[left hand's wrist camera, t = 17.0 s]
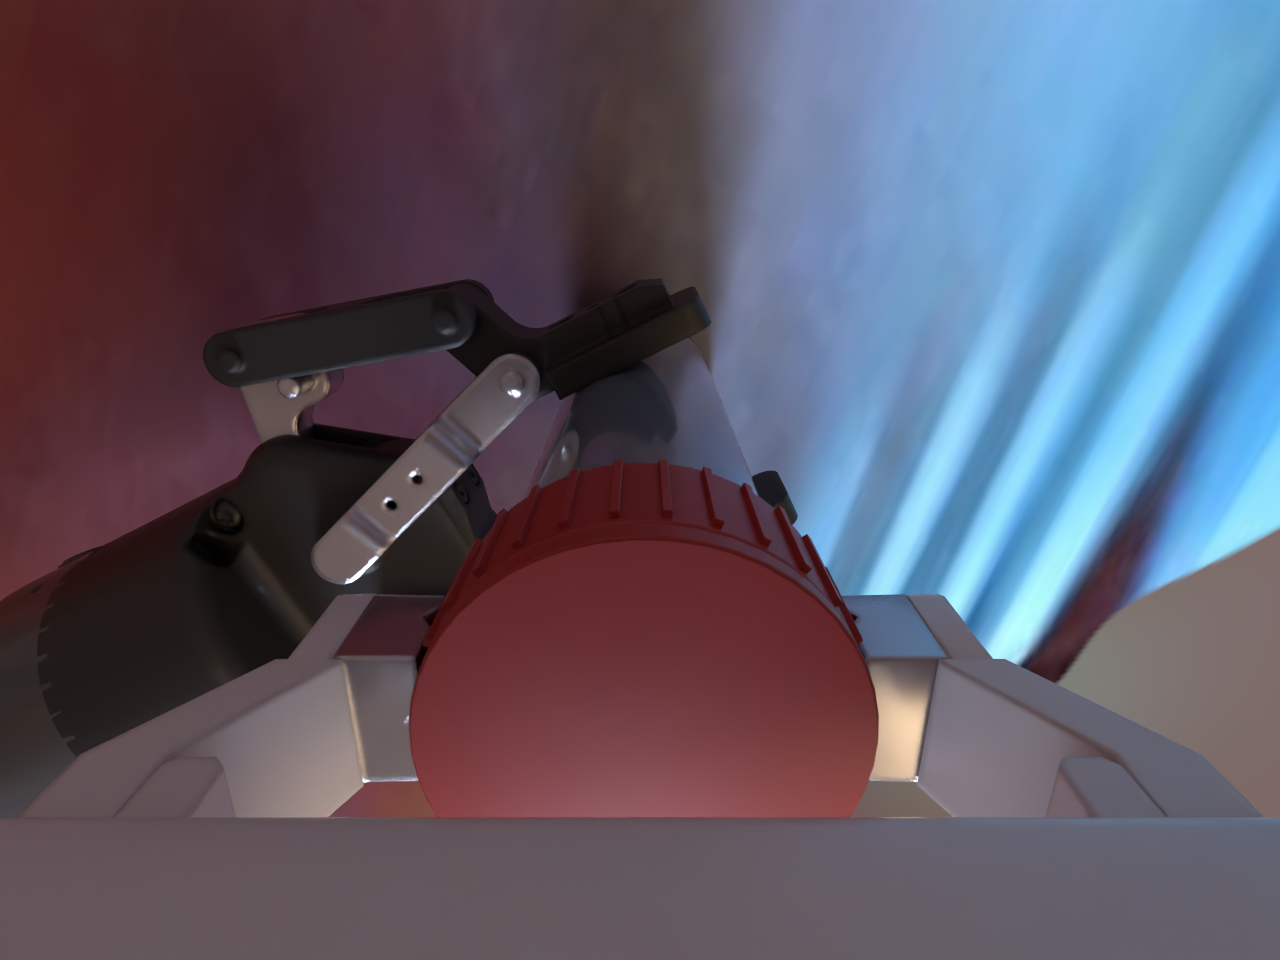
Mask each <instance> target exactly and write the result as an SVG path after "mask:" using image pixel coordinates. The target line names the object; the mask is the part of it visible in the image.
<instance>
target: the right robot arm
mask: <svg viewBox="0 0 1280 960" xmlns="http://www.w3.org/2000/svg"><path fill="white" fill-rule="evenodd" d="M710 324H711V320H710V318H709V316H708V314H707V312H706V309H705V307H704V305H703V303H702V301H701V298H700V296H699V294H698V292H697V291H696V289H695V287H690V288H687V289H684V290H682V291H679V292H677V293H675V294H673V295H671V296H670V295H669V293H668V291H667V289H666V287H665V285H664V283H663V280H662V278H660V279H647V280H638V281H636V282H634V283H632V284H630V285H628V286H626V287H624V288H622V289H620V290H618V291H617V292H614V293H612V294H610V295H608V296H606V297H604V298H602V299H601V300H598V301H596V302H595V303H593V304H591V305H589V306H587V307H585V308H583V309H581V310H579V311H577V312H575V313H573V314H571V315H569V316H567V317H565V318H563V319H561V320H559V321H557V322H555V323H553V324H551V325H549V326H547V327H543V328H529V327H525V326H523V325H520V324H519V323H517V322H515V321H514V320H513V319H512V318H511V317H510V316H508V315H507V314H506V313H505V312H504V311H503V310H502V309H501V308H500V307H499V306H498V305H496V304H495V303H494V299H493V296H492V294H491V292H490V291H489V290H488V288H486V287H485V286H484V285H483V284H481V283H480V282H478V281H475V280H469V279H467V280H460V281H454V282H449V283H444V284H439V285H433V286H428V287H423V288H418V289H412V290H407V291H402V292H396V293H391V294H386V295H381V296H375V297H370V298H365V299H359V300H354V301H349V302H344V303H338V304H333V305H328V306H323V307H317V308H312V309H307V310H301V311H296V312H291V313H286V314H280V315H275V316H271V317H268V318H265V319H262V320H258V321H255V322H252V323H248V324H245V325H242V326H239V327H236V328H233V329H230V330H227V331H224V332H221V333H217V334H215V335H213V336H212V337H211V338H209V339H208V341H207V342H206V344H205V346H204V350H203V359H204V363H205V366H206V368H207V370H208V371H209V373H210V374H211V375H212V376H213V377H214V378H215V379H216V380H217V381H219V382H220V383H222V384H224V385H227V386H230V387H240V388H241V390H242V393H243V396H244V398H245V401H246V403H247V406H248V409H249V411H250V414H251V416H252V419H253V422H254V424H255V427H256V429H257V432H258V435H259V437H260V440H261V442H262V444H261V445H259V446H258V447H257V448H256V449H255V450H254V451H253V452H252V454H251V455H250V457H249V458H248V460H247V462H246V464H245V467H244V469H243V470H242V472H241V473H240V474H239V476H238V477H237V478H235V479H233V480H232V481H230V482H228V483H226V484H224V485H222V486H220V487H218V488H216V489H214V490H212V491H210V492H208V493H206V494H204V495H202V496H200V497H198V498H196V499H194V500H192V501H190V502H188V503H186V504H184V505H182V506H181V507H179V508H177V509H175V510H173V511H171V512H169V513H167V514H165V515H163V516H161V517H159V518H157V519H155V520H153V521H151V522H149V523H147V524H145V525H143V526H141V527H139V528H137V529H135V530H133V531H131V532H129V533H127V534H125V535H123V536H121V537H119V538H118V539H116V540H114V541H112V542H110V543H108V544H106V545H104V546H100V547H97V548H93V549H90V550H88V551H85V552H82V553H80V554H78V555H75V556H73V557H71V558H69V559H67V560H65V561H64V562H63V564H61V565H60V566H59V567H58V569H57V570H55V571H53V572H51V573H49V574H47V575H45V576H43V577H41V578H39V579H37V580H35V581H33V582H31V583H29V584H27V585H26V586H24V587H22V588H20V589H19V590H17V591H15V592H13V593H12V594H10V595H9V596H7V597H6V598H4V599H3V600H1V601H0V817H17V816H18V815H19V814H20V813H21V812H22V811H23V810H24V809H25V808H27V807H28V806H29V805H30V804H31V803H32V802H33V801H34V800H35V799H36V798H37V797H38V796H39V795H40V794H41V793H42V792H43V791H44V790H45V789H46V788H47V787H48V786H49V785H50V784H51V783H52V782H53V781H54V780H55V779H56V778H57V777H58V776H59V775H60V774H61V773H62V772H63V771H64V770H65V769H66V768H67V767H68V766H69V765H70V764H71V763H72V762H73V761H74V760H75V759H76V758H77V757H78V756H79V755H80V754H82V753H84V752H86V751H88V750H90V749H92V748H94V747H96V746H98V745H100V744H102V743H104V742H107V741H109V740H111V739H113V738H115V737H117V736H119V735H121V734H123V733H125V732H127V731H129V730H131V729H133V728H135V727H137V726H139V725H142V724H144V723H146V722H148V721H150V720H152V719H154V718H156V717H158V716H160V715H162V714H164V713H166V712H168V711H170V710H172V709H174V708H176V707H179V706H181V705H183V704H185V703H187V702H189V701H191V700H193V699H195V698H197V697H199V696H201V695H203V694H205V693H207V692H209V691H211V690H214V689H216V688H218V687H220V686H222V685H224V684H226V683H228V682H230V681H232V680H234V679H236V678H238V677H240V676H242V675H244V674H246V673H249V672H251V671H253V670H255V669H257V668H259V667H261V666H263V665H265V664H267V663H269V662H271V661H273V660H275V659H288V658H289V657H290V655H291V654H292V653H293V652H294V650H295V649H296V648H297V646H298V645H299V644H300V642H301V641H302V640H303V639H304V637H305V636H306V635H307V633H308V632H309V631H310V630H311V628H312V627H313V626H314V624H315V623H316V622H317V621H318V619H319V618H320V617H321V615H322V614H323V613H324V612H325V610H326V609H327V608H328V606H329V605H330V604H331V603H332V601H333V600H334V599H335V598H336V596H338V595H344V594H377V595H380V594H387V595H440V596H446V595H447V593H448V591H449V589H450V587H451V584H452V582H453V580H454V578H455V576H456V574H457V572H458V571H460V569H461V567H462V564H463V562H464V560H465V558H466V556H467V554H468V552H469V550H470V548H471V546H472V544H473V542H474V541H475V539H476V538H478V539H480V540H483V538H484V537H485V536H486V535H487V533H488V532H489V531H490V530H491V529H492V526H493V524H494V522H495V520H496V518H497V514H496V513H495V512H494V511H493V510H492V508H491V506H490V503H489V500H488V496H487V493H486V490H485V486H484V483H483V480H482V478H481V477H480V475H479V473H478V472H477V470H476V468H475V467H474V465H473V464H472V463H473V461H474V460H475V459H476V458H477V457H478V456H479V454H480V453H481V452H482V451H483V450H484V449H485V448H486V447H487V446H488V445H489V444H490V443H491V442H492V441H493V440H494V439H495V438H496V437H497V436H498V435H499V434H500V433H501V432H502V431H503V430H504V429H505V428H506V427H507V426H508V425H509V424H510V423H511V422H512V421H513V420H514V419H515V418H516V417H517V416H518V415H519V414H520V413H521V412H522V411H523V410H524V409H525V408H526V407H527V406H528V405H529V404H530V403H531V402H532V401H534V400H536V399H538V398H540V397H542V396H544V395H546V394H548V393H550V392H552V391H554V390H555V391H556V393H557V395H558V397H559V399H560V400H561V399H564V398H566V397H568V396H570V395H572V394H574V393H576V392H578V391H580V390H582V389H584V388H586V387H588V386H590V385H592V384H593V383H595V382H597V381H599V380H602V379H604V378H607V377H609V376H611V375H613V374H615V373H617V372H619V371H621V370H623V369H625V368H627V367H629V366H631V365H633V364H635V363H637V362H639V361H641V360H643V359H645V358H647V357H649V356H652V355H654V354H656V353H658V352H660V351H662V350H664V349H666V348H668V347H670V346H672V345H674V344H676V343H678V342H680V341H682V340H684V339H686V338H688V337H690V336H692V335H694V334H696V333H698V332H700V331H702V330H703V329H705V328H706V327H707V326H709V325H710ZM441 350H447V351H448V352H449V353H451V354H452V355H453V356H454V357H455V358H456V359H457V360H459V361H460V362H461V363H462V364H463V365H464V366H465V367H467V368H468V369H469V370H470V371H471V372H472V373H473V374H475V375H476V376H477V377H476V378H475V379H474V380H473V381H472V382H471V383H470V384H469V385H468V386H467V387H466V388H465V389H464V390H463V391H462V392H461V393H460V394H459V395H458V396H457V397H456V398H455V399H454V400H453V401H452V402H451V403H450V404H449V406H448V407H447V408H446V409H445V410H444V411H443V412H442V413H441V414H440V415H439V416H438V417H437V418H436V419H435V420H434V421H433V422H432V423H431V424H430V425H429V426H428V427H427V428H426V429H425V430H424V431H423V432H422V433H421V434H420V435H419V436H418V438H417V439H416V440H414V439H408V438H402V437H396V436H389V435H383V434H377V433H371V432H365V431H358V430H352V429H346V428H340V427H334V426H328V425H321V424H314V423H313V418H312V413H313V409H314V406H315V404H317V403H318V402H320V401H322V400H323V399H325V398H327V397H328V396H330V395H331V394H333V393H334V392H336V391H337V390H338V389H339V388H340V387H341V385H342V382H343V378H344V372H343V368H348V367H354V366H359V365H364V364H370V363H375V362H381V361H386V360H392V359H397V358H403V357H408V356H414V355H419V354H424V353H430V352H435V351H441ZM752 479H753V481H754V483H755V486H756V488H757V491H758V493H759V496H760V497H761V498H762V499H763V500H765V501H766V502H767V503H768V504H770V505H771V506H772V507H773V508H775V509H776V508H777V507H778V506H781V507H782V508H783V509H784V510H785V512H786V514H787V516H788V518H789V520H790V523H791V525H792V524H794V522H795V521H796V520H797V513H796V511H795V508H794V506H793V504H792V502H791V500H790V497H789V495H788V493H787V491H786V489H785V487H784V485H783V483H782V481H781V479H780V477H779V475H778V473H777V472H776V471H765V472H762V473H759V474H756V475H754V476H752Z"/></svg>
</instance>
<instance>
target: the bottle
mask: <svg viewBox="0 0 1280 960" xmlns="http://www.w3.org/2000/svg"><path fill="white" fill-rule="evenodd" d="M620 459H622V460H623V464H625V463H659V459H667V460H668V464H671V465H678V466H684V467H690V468H694V469H697V470H701V471H702V468H703V467H707V468H711V471H712V474H715V475H717V476H720V477H722V478H724V479H727V480H729V481H731V482H734V483H736V484H739V485H740V486H742V485H743V483H744V482H745V483H747V484H748V485H750V486H751V488H752V490H753V493H754V494H756V495H757V496H759V493H758V491H757V488H756V486H755V483H754V481H753V479H752V476H751V474H750V471H749V469H748V466H747V464H746V461H745V459H744V456H743V454H742V451H741V449H740V446H739V444H738V441H737V439H736V436H735V434H734V431H733V429H732V426H731V424H730V421H729V419H728V416H727V414H726V411H725V409H724V406H723V404H722V401H721V399H720V396H719V394H718V391H717V389H716V386H715V384H714V382H713V379H712V377H711V374H710V372H709V369H708V367H707V364H706V362H705V359H704V357H703V355H702V353H701V352H700V350H699V348H698V347H697V346H696V344H695V343H694V342H693V341H692V340H691V339H690V338H689V337H688V338H686V339H684V340H682V341H680V342H678V343H676V344H674V345H672V346H670V347H668V348H666V349H664V350H662V351H660V352H658V353H656V354H654V355H652V356H649V357H647V358H645V359H643V360H641V361H639V362H637V363H635V364H633V365H631V366H629V367H627V368H625V369H623V370H621V371H619V372H617V373H615V374H613V375H611V376H609V377H607V378H604V379H602V380H599V381H597V382H595V383H593V384H592V385H590V386H588V387H586V388H584V389H582V390H580V391H578V392H576V393H574V394H572V395H570V396H568V397H566V398H564V399H563V400H562V403H561V406H560V408H559V411H558V413H557V416H556V418H555V421H554V424H553V426H552V429H551V431H550V434H549V437H548V439H547V442H546V444H545V447H544V449H543V452H542V455H541V457H540V460H539V462H538V465H537V467H536V470H535V473H534V475H533V478H532V480H531V483H530V486H529V488H528V491H527V493H526V496H525V498H527V497H528V496H529V494H530V491H531V489H532V488H533V487H535V486H536V485H539V486H540V487H541V488H543V487H545V486H547V485H549V484H551V483H553V482H555V481H557V480H559V479H562V478H565V477H567V476H570V472H571V470H573V469H576V468H579V470H580V472H581V471H585V470H589V469H594V468H598V467H603V466H607V465H614V460H620ZM759 497H760V496H759ZM525 498H524V499H525Z"/></svg>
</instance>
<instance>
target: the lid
mask: <svg viewBox="0 0 1280 960" xmlns="http://www.w3.org/2000/svg"><path fill="white" fill-rule="evenodd" d="M860 642H863V639H862V636H861V634H860V632H859V630H858V628H857V626H856V624H855V622H854V620H853V618H852V616H851V614H850V612H849V610H848V608H847V606H846V604H845V602H844V600H843V598H842V596H841V594H840V592H839V590H838V588H837V586H836V584H835V582H834V580H833V579H832V577H831V575H830V573H829V571H828V569H827V567H825V566H824V564H823V562H822V560H821V558H820V556H819V554H818V552H817V550H816V548H815V546H814V544H813V542H812V540H811V539H810V537H809V536H808V535H807V534H806V535H805V536H803V537H801V535H800V534H799V532H798V531H797V530H796V529H795V528H794V527H793V526H792V525H791V523H790V520H789V518H788V516H787V514H786V512H785V510H784V509H783V508H782V507H781V506H778V507H777V508H776V509H775V508H773V507H772V506H771V505H770V504H768V503H767V502H766V501H765V500H763V499H762V498H761V497H759V496H757V495H756V494H754V493H753V490H752V488H751V486H750V485H748V484H747V483H745V482H744V483H743V485H742V486H740V485H739V484H736V483H734V482H731V481H729V480H727V479H724V478H722V477H720V476H717V475H715V474H712V471H711V468H707V467H703V468H702V471H701V470H697V469H694V468H690V467H684V466H678V465H671V464H668V460H667V459H659V463H625V464H623V460H622V459H620V460H614V465H607V466H603V467H598V468H594V469H589V470H585V471H581V472H580V470H579V468H576V469H573V470H571V472H570V476H567V477H565V478H562V479H559V480H557V481H555V482H553V483H551V484H549V485H547V486H545V487H543V488H541V487H540V486H539V485H536V486H535V487H533V488H532V489H531V491H530V494H529V496H528V497H527V498H525V499H524V500H522V501H521V502H519V503H518V504H517V505H515V506H514V507H513V508H512V509H511V510H509V511H508V512H507V511H506V510H505V509H502V510H501V511H500V512H499V513H498V515H497V518H496V520H495V522H494V524H493V526H492V529H491V530H490V531H489V532H488V533H487V535H486V536H485V537H484V538H483V540H480V539H478V538H476V539H475V541H474V542H473V544H472V546H471V548H470V550H469V552H468V554H467V556H466V558H465V560H464V562H463V564H462V567H461V569H460V571H458V572H457V574H456V576H455V578H454V580H453V582H452V584H451V587H450V589H449V591H448V593H447V595H446V597H445V599H444V601H443V603H442V605H441V607H440V609H439V611H438V613H437V615H436V617H435V619H434V621H433V623H432V625H431V627H430V629H429V631H428V633H427V635H426V637H425V640H424V642H423V646H425V647H428V650H427V652H426V654H425V656H424V659H423V661H422V664H421V666H420V669H419V671H418V674H417V676H416V679H415V683H414V688H413V692H412V696H411V701H410V711H409V728H408V729H409V739H410V748H411V756H412V759H413V763H414V767H415V770H416V774H417V778H418V781H419V783H420V785H421V787H422V790H423V792H424V794H425V796H426V799H427V801H428V803H429V804H430V806H431V808H432V809H433V811H434V812H435V814H436V816H437V817H850V816H851V815H852V813H853V812H854V810H855V809H856V807H857V805H858V803H859V801H860V799H861V797H862V795H863V793H864V791H865V789H866V787H867V784H868V781H869V778H870V775H871V772H872V769H873V766H874V762H875V756H876V750H877V745H878V735H879V712H878V705H877V699H876V692H875V687H874V684H873V681H872V678H871V675H870V672H869V669H868V666H867V663H866V661H865V659H864V657H863V655H862V653H861V651H860V649H859V647H858V645H857V644H858V643H860Z"/></svg>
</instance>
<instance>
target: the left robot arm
mask: <svg viewBox="0 0 1280 960" xmlns="http://www.w3.org/2000/svg"><path fill="white" fill-rule="evenodd" d="M445 597H446V596H440V595H387V594H380V595H377V594H344V595H338V596H336V598H335V599H334V600H333V601H332V603H331V604H330V605H329V606H328V608H327V609H326V610H325V612H324V613H323V614H322V615H321V617H320V618H319V619H318V621H317V622H316V623H315V624H314V626H313V627H312V628H311V630H310V631H309V632H308V633H307V635H306V636H305V637H304V639H303V640H302V641H301V642H300V644H299V645H298V646H297V648H296V649H295V650H294V652H293V653H292V654H291V655H290V657H289V658H288V659H275V660H273V661H271V662H269V663H267V664H265V665H263V666H261V667H259V668H257V669H255V670H253V671H251V672H249V673H246V674H244V675H242V676H240V677H238V678H236V679H234V680H232V681H230V682H228V683H226V684H224V685H222V686H220V687H218V688H216V689H214V690H211V691H209V692H207V693H205V694H203V695H201V696H199V697H197V698H195V699H193V700H191V701H189V702H187V703H185V704H183V705H181V706H179V707H176V708H174V709H172V710H170V711H168V712H166V713H164V714H162V715H160V716H158V717H156V718H154V719H152V720H150V721H148V722H146V723H144V724H142V725H139V726H137V727H135V728H133V729H131V730H129V731H127V732H125V733H123V734H121V735H119V736H117V737H115V738H113V739H111V740H109V741H107V742H104V743H102V744H100V745H98V746H96V747H94V748H92V749H90V750H88V751H86V752H84V753H82V754H80V755H79V756H78V757H77V758H76V759H75V760H74V761H73V762H72V763H71V764H70V765H69V766H68V767H67V768H66V769H65V770H64V771H63V772H62V773H61V774H60V775H59V776H58V777H57V778H56V779H55V780H54V781H53V782H52V783H51V784H50V785H49V786H48V787H47V788H46V789H45V790H44V791H43V792H42V793H41V794H40V795H39V796H38V797H37V798H36V799H35V800H34V801H33V802H32V803H31V804H30V805H29V806H28V807H27V808H25V809H24V810H23V811H22V812H21V813H20V814H19V815H18V816H17V817H0V960H1280V817H1264V816H1263V815H1262V814H1261V813H1260V812H1259V811H1258V810H1257V809H1256V808H1255V807H1254V806H1253V805H1252V804H1251V803H1250V802H1249V801H1248V800H1247V799H1246V798H1245V797H1244V796H1243V795H1242V794H1241V793H1240V792H1239V791H1238V790H1237V789H1236V788H1235V787H1234V786H1233V785H1232V784H1231V783H1230V782H1229V781H1228V780H1227V779H1225V777H1224V776H1223V775H1221V774H1220V773H1219V772H1218V771H1217V770H1216V769H1215V768H1214V767H1213V766H1212V765H1211V764H1210V763H1209V762H1208V761H1207V760H1206V759H1205V758H1204V757H1203V756H1202V755H1201V754H1199V753H1197V752H1194V751H1192V750H1190V749H1188V748H1186V747H1184V746H1182V745H1180V744H1178V743H1176V742H1174V741H1172V740H1170V739H1168V738H1166V737H1164V736H1162V735H1160V734H1158V733H1155V732H1153V731H1151V730H1149V729H1147V728H1145V727H1143V726H1141V725H1139V724H1137V723H1135V722H1133V721H1131V720H1129V719H1127V718H1125V717H1123V716H1121V715H1118V714H1116V713H1114V712H1112V711H1110V710H1108V709H1106V708H1104V707H1102V706H1100V705H1098V704H1096V703H1094V702H1092V701H1090V700H1088V699H1086V698H1084V697H1082V696H1079V695H1077V694H1075V693H1073V692H1071V691H1069V690H1067V689H1065V688H1063V687H1061V686H1059V685H1057V684H1055V683H1053V682H1051V681H1049V680H1047V679H1045V678H1043V677H1040V676H1038V675H1036V674H1034V673H1032V672H1030V671H1028V670H1026V669H1024V668H1022V667H1020V666H1018V665H1016V664H1014V663H1012V662H1010V661H1008V660H1006V659H993V658H992V657H991V656H990V654H989V653H988V652H987V651H986V649H985V648H984V647H983V645H982V644H981V643H980V642H979V640H978V639H977V638H976V636H975V635H974V634H973V633H972V631H971V630H970V629H969V628H968V626H967V625H966V624H965V622H964V621H963V620H962V619H961V617H960V616H959V615H958V613H957V612H956V611H955V610H954V608H953V607H952V606H951V604H950V603H949V602H948V601H947V599H946V598H945V597H944V596H942V595H940V594H937V593H936V594H913V595H905V594H903V595H861V596H842V598H843V600H844V602H845V604H846V606H847V608H848V610H849V612H850V614H851V616H852V618H853V620H854V622H855V624H856V626H857V628H858V630H859V632H860V634H861V636H862V639H863V642H860V643H858V644H857V645H858V647H859V649H860V651H861V653H862V655H863V657H864V659H865V661H866V663H867V666H868V669H869V672H870V675H871V678H872V681H873V684H874V687H875V692H876V699H877V705H878V712H879V735H878V745H877V750H876V756H875V762H874V766H873V769H872V772H871V775H870V778H869V781H899V782H917V786H919V787H920V788H921V789H922V790H923V791H924V792H925V793H927V794H928V795H929V796H930V797H931V798H932V799H933V800H934V801H936V802H937V803H938V804H939V805H940V806H941V807H943V808H944V809H945V810H946V811H947V812H948V813H949V814H950V815H951V816H953V817H329V816H330V815H331V814H332V813H333V812H334V811H335V810H336V809H338V808H339V807H340V806H341V805H342V804H343V803H344V802H346V801H347V800H348V799H349V798H350V797H351V796H352V795H354V794H355V793H356V792H357V791H358V790H359V789H360V788H361V787H363V786H364V784H363V782H381V781H417V780H418V778H417V774H416V770H415V767H414V763H413V759H412V756H411V748H410V739H409V729H408V728H409V711H410V701H411V696H412V692H413V688H414V683H415V679H416V676H417V674H418V671H419V669H420V666H421V664H422V661H423V659H424V656H425V654H426V652H427V650H428V647H425V646H423V642H424V640H425V637H426V635H427V633H428V631H429V629H430V627H431V625H432V623H433V621H434V619H435V617H436V615H437V613H438V611H439V609H440V607H441V605H442V603H443V601H444V599H445Z"/></svg>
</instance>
